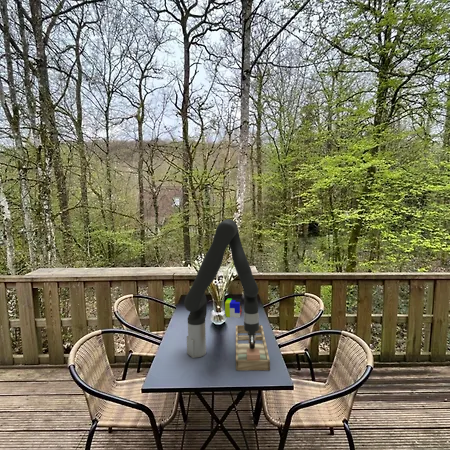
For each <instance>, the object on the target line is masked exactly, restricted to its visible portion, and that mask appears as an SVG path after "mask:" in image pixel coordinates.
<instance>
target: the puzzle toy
mask: <svg viewBox="0 0 450 450" xmlns="http://www.w3.org/2000/svg"><path fill="white" fill-rule="evenodd" d="M242 309H243V307H242V298H227V299H226V300H225V302H224V315H225V314H226V316H227V317H226V318H232V317H234V318H233V319H240V318H241V315H242V313H243V312H242V311H243V310H242ZM241 312H242V313H241Z"/></svg>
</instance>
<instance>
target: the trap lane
mask: <svg viewBox="0 0 450 450" xmlns="http://www.w3.org/2000/svg"><path fill="white" fill-rule="evenodd" d="M238 334H241V335H238ZM242 334H244V335H242ZM245 334H246V335H245ZM255 334H256V338H255V341H261V342H262V343H255V348H254V349H259V352H260V360H247V349H250V347H249V343H239V341H248V332H247V331H245V330H244V324H243V325H242V324H241V325H238V324H236V325H235V371H271V361H270V355H269V351H268V345H267V341H266V338H265V337H266V336H265V332H264V327H263V325H262V324H259V330H258V331H257V332H255Z"/></svg>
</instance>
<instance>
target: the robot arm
mask: <svg viewBox="0 0 450 450" xmlns="http://www.w3.org/2000/svg"><path fill="white" fill-rule="evenodd" d="M228 246H229V249H230V252H231V253H230V254H231V257H232V262H233V265H234V269H235V271H236V274H237V276H238V278H239V281H240V283H241V287H242V290H243V301H244V303H243V325H244V330H245V331H247V332H248V333H247V335H248V340H247V342H248V344H249V347H250V349H254V348H255V344H256V340H255V338H256V335H257V333H255V332H257V331H258V330H259V325H260V315H259V302H258V293H259V287H258V284H257V282H256V279H255V277H254V275H253V273H252V268H251V266H250V264H249V261H248V259H247V256H246V253H245V250H244V247H243V245H242V241H241V238H240V234H239V229H238V224H237V223H236V221H234V220H232V219H230V218H229V219H228V218H227V219H224V220H223V221H221V222H220V223H219V224H218V225H217V227H216V230H215V233H214V236H213V240H212V243H211V245H210V247H209V248H208V250H207V251H206V254H205V256H204V258H203V259H202V262H201V264H200V267H199V269H198V272H197V274H196V276H195V278H194V281H193V284H192V285H191V287H190V289H189V291H188V292H187V294H186V295H185V297H184V302H183V305H184V308H185V309H186V310H187V312H189V314H188V315H187V316H188V317H187V336H186V354H187V355H188V356H190V357H191V358H192V359H196V358H201V357H204V356H206V354H207V338H206V337H207V336H206V334H207V333H206V317H207V313H208V312H207V311H208V304H207V303H208V302H207V296H206V294H205V293H206V291H207V289H208V288H209V286H210V285H211V284H212V283H213V281H214V280H215V278H216V277H217V276H218V273H219V271H220V268H221V266H222V263H223V260H224V255H225V252H226V250H227V248H228Z"/></svg>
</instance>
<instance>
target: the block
mask: <svg viewBox="0 0 450 450" xmlns="http://www.w3.org/2000/svg"><path fill="white" fill-rule="evenodd" d="M247 360H260V352H259V349H247Z"/></svg>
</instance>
